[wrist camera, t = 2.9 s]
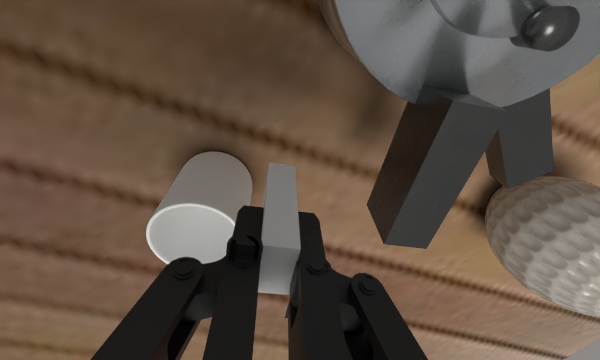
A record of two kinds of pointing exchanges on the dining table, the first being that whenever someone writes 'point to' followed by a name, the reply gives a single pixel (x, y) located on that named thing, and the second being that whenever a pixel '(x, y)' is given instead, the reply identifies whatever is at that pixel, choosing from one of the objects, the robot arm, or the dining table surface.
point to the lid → (456, 88)
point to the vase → (550, 239)
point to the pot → (500, 128)
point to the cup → (200, 209)
